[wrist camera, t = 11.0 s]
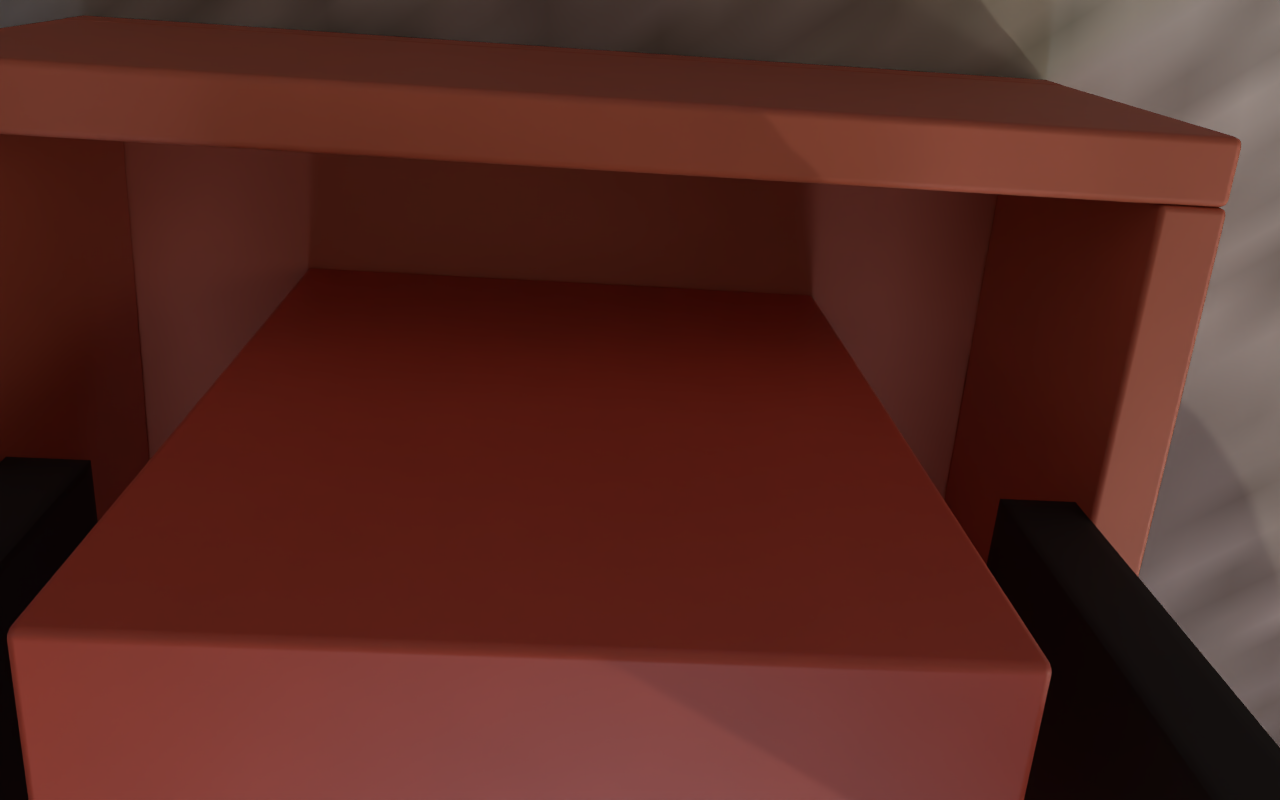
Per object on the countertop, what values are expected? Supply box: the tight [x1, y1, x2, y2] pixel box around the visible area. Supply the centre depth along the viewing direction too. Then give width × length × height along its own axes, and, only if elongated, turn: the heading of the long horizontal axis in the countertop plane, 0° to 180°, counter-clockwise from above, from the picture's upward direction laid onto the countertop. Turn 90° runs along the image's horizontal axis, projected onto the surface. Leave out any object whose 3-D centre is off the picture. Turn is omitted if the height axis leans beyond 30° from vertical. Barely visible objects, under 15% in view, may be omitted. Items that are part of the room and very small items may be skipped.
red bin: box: [0, 16, 1241, 576], centre depth 14 cm, size 11×11×5 cm
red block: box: [7, 268, 1052, 800], centre depth 12 cm, size 6×6×8 cm
